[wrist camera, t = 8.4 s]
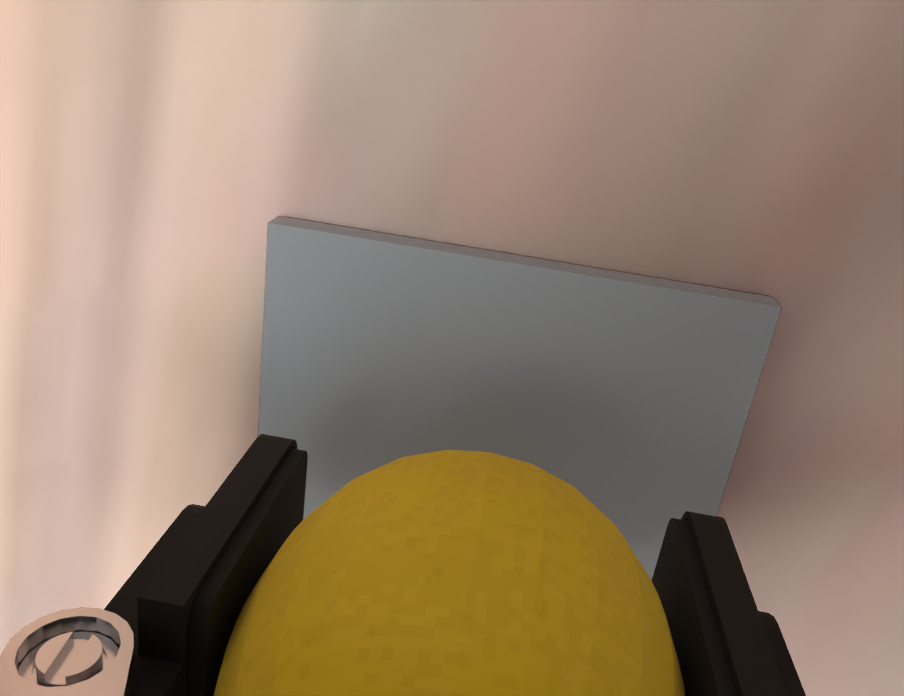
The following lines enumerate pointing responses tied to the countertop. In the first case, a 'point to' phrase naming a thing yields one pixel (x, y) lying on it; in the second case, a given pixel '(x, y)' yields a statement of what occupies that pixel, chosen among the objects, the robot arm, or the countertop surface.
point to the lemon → (453, 593)
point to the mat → (507, 368)
